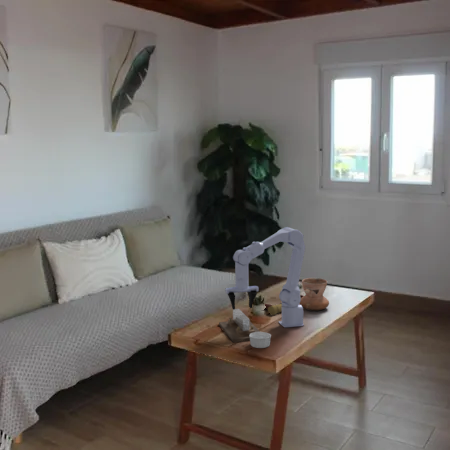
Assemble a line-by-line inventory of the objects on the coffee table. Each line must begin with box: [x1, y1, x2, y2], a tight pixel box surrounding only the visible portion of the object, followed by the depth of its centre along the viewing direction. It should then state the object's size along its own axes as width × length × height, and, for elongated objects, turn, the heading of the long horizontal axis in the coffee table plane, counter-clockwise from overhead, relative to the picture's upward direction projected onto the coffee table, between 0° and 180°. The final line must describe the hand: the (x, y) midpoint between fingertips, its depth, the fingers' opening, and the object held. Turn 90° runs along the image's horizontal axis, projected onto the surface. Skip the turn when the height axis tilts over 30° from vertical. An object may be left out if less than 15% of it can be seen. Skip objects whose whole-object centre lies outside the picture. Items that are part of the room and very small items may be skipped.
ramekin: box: [249, 331, 272, 349], centre depth 249 cm, size 9×9×4 cm
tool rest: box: [218, 317, 261, 343], centre depth 265 cm, size 14×24×4 cm, turn 14°
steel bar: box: [232, 308, 250, 331], centre depth 265 cm, size 16×3×5 cm, turn 15°
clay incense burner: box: [299, 277, 330, 311], centre depth 299 cm, size 18×14×14 cm
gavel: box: [264, 302, 282, 316], centre depth 299 cm, size 21×5×10 cm
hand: (241, 308), depth 265 cm, fingers open, 7 cm apart
